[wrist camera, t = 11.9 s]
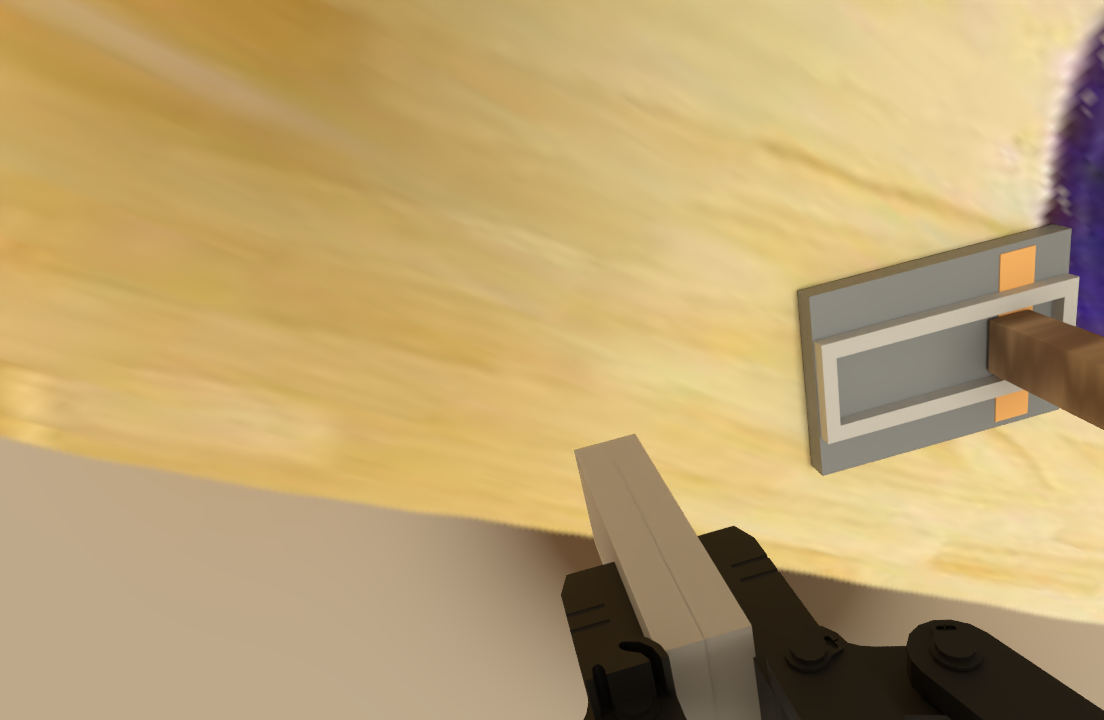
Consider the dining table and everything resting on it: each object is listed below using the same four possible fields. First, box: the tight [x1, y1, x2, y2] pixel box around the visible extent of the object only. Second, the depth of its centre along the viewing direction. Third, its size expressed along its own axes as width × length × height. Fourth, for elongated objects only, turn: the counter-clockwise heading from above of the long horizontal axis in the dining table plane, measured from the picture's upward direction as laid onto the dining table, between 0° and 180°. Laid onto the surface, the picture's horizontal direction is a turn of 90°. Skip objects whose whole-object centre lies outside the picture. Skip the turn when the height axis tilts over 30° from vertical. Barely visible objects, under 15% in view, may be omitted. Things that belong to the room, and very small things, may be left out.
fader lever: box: [988, 310, 1104, 430], centre depth 44 cm, size 5×4×15 cm
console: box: [798, 224, 1079, 476], centre depth 51 cm, size 14×19×3 cm
